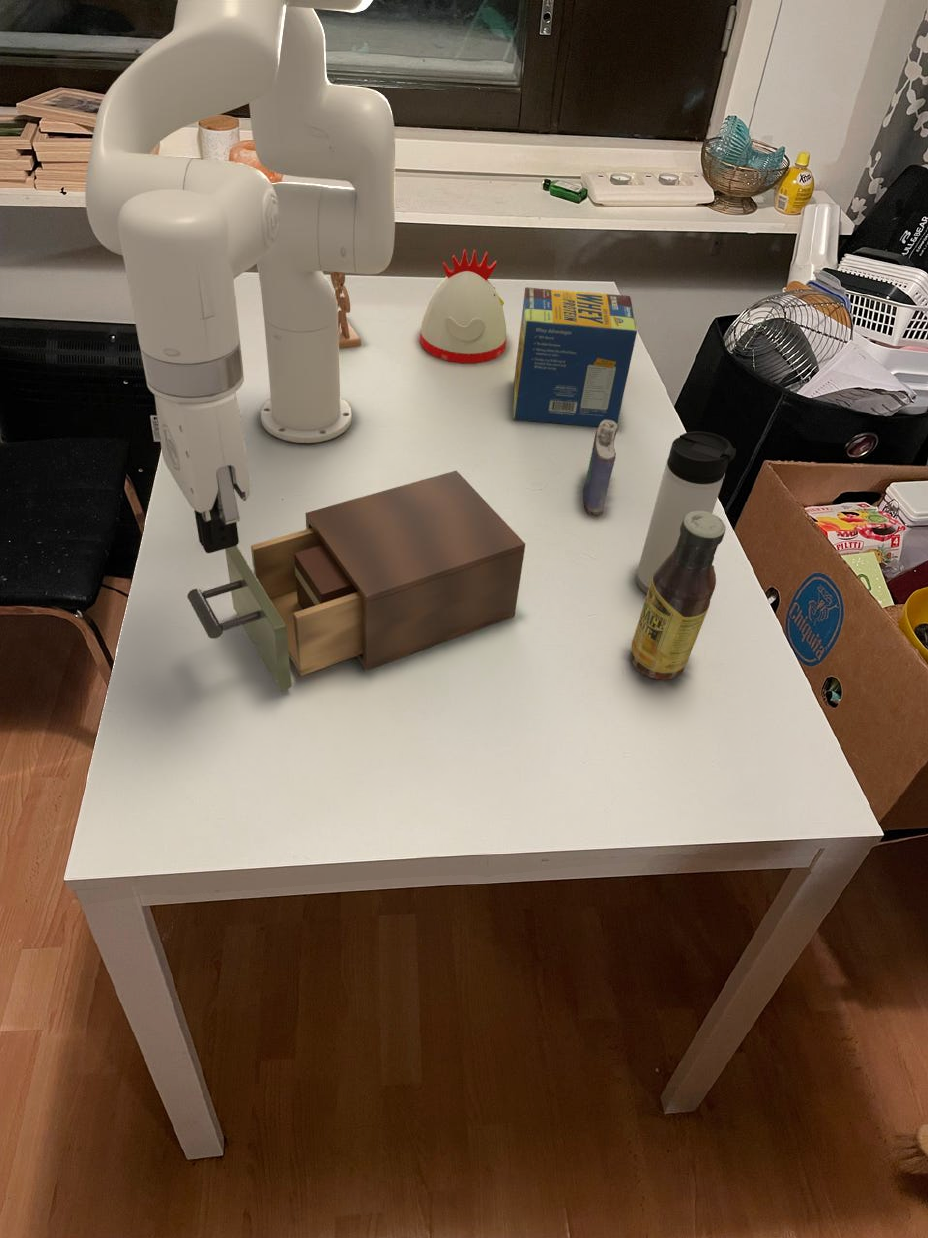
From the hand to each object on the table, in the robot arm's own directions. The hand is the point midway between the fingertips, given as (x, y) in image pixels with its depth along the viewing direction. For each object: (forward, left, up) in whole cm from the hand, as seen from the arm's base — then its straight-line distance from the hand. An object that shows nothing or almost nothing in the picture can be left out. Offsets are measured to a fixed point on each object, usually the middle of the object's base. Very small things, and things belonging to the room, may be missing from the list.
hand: (219, 544), depth 85 cm
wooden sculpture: (-61, +40, -16) cm, 75 cm away
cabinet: (0, +21, -16) cm, 26 cm away
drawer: (0, +8, -15) cm, 17 cm away
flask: (-8, +52, -16) cm, 55 cm away
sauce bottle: (+20, +40, -16) cm, 48 cm away
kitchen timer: (-51, +57, -16) cm, 78 cm away
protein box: (-28, +61, -16) cm, 69 cm away
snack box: (0, +10, -14) cm, 17 cm away
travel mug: (+10, +49, -16) cm, 53 cm away
